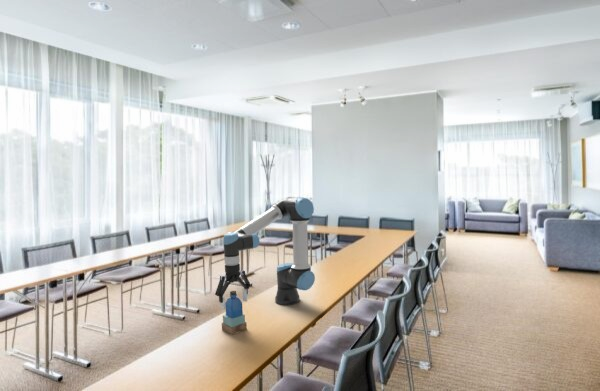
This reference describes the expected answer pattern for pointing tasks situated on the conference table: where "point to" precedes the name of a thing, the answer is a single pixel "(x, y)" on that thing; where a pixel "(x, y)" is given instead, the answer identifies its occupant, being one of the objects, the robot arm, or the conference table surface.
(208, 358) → the conference table surface
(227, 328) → the walnut slab
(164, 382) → the conference table surface
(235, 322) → the teal slab
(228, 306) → the perfume bottle
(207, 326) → the conference table surface
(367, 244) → the conference table surface
